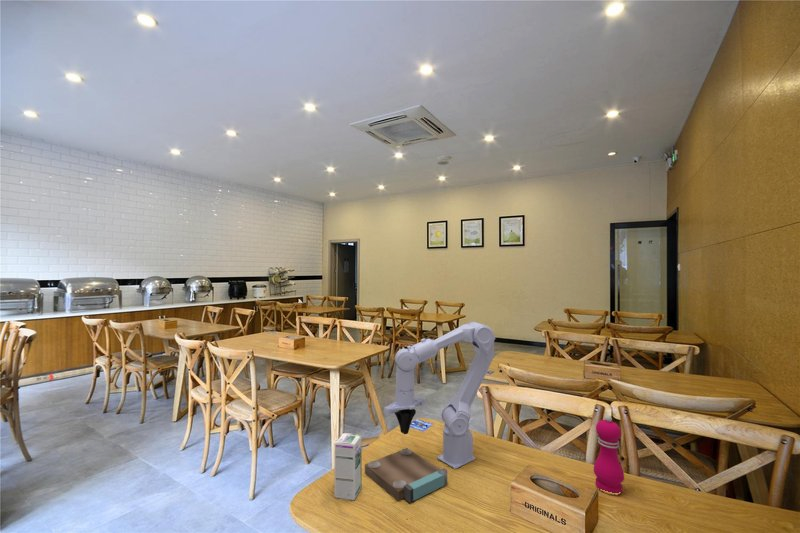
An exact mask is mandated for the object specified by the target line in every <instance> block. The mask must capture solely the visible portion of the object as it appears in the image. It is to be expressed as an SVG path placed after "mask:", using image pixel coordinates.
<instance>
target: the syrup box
mask: <svg viewBox="0 0 800 533" xmlns="http://www.w3.org/2000/svg"><path fill="white" fill-rule="evenodd" d="M362 461H363V460H362V435H361V434H358V433H350V432H349V433H348V432H345V433H343V432H342V433H341V435H340V436H339V437H338V438H337V440H336V441H335V442H334V498H337V499H341V500H348V501H355V500H356V498H357V496H358V495H359V493H360V491H361V489H362V484H363V483H362V474H363V473H362V470H363V468H362Z"/></svg>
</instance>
